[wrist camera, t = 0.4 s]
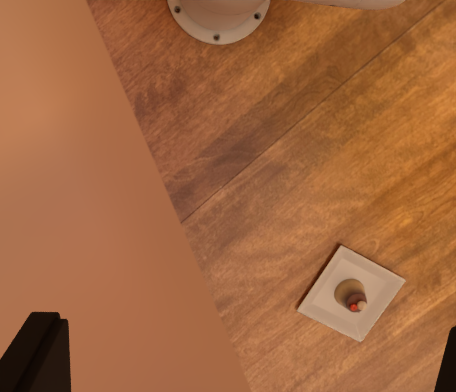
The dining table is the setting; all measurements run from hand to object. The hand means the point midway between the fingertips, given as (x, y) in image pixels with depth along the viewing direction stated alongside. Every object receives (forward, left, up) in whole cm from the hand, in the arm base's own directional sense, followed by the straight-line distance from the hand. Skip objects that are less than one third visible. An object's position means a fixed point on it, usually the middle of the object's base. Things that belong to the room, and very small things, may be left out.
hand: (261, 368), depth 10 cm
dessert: (+24, +23, -47) cm, 57 cm away
